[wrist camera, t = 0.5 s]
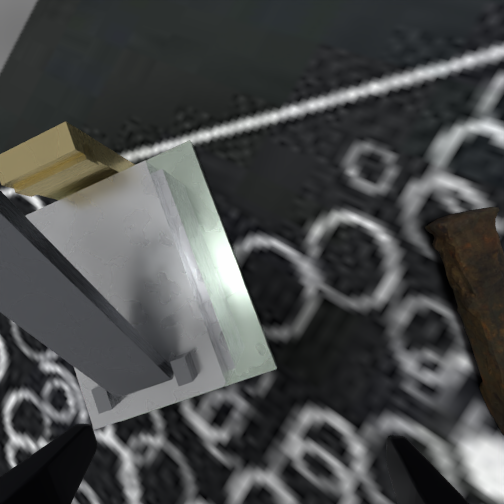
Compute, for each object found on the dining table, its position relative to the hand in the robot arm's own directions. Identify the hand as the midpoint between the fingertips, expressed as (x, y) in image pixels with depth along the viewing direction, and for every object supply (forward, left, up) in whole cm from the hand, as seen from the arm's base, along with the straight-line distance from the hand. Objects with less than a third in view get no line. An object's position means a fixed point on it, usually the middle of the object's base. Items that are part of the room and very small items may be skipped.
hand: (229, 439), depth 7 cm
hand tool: (+2, -17, -15) cm, 23 cm away
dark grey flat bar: (+1, +10, -5) cm, 11 cm away
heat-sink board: (+1, +10, -14) cm, 18 cm away
